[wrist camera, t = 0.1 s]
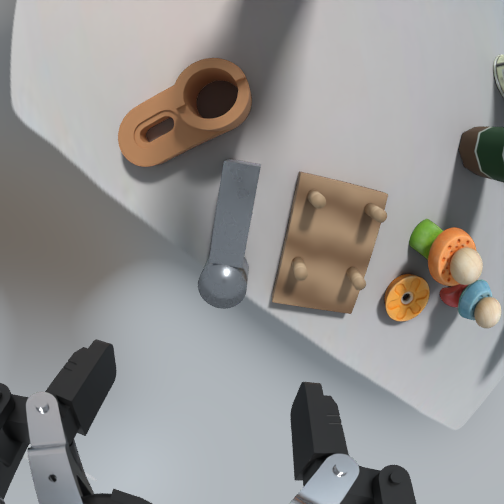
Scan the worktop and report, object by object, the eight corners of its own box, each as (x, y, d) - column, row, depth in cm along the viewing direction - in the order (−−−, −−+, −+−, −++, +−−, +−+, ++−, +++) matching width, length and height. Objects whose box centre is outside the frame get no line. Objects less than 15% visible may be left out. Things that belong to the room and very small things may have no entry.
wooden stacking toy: (365, 300, 43) (394, 349, 31) (426, 206, 38) (476, 230, 26) (433, 336, 45) (463, 379, 34) (485, 260, 40) (528, 290, 28)
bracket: (236, 63, 32) (230, 46, 26) (262, 117, 35) (261, 110, 28) (118, 124, 35) (93, 122, 29) (141, 175, 38) (118, 181, 31)
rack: (299, 171, 37) (305, 175, 31) (382, 192, 37) (400, 200, 32) (271, 295, 43) (273, 317, 37) (348, 307, 43) (358, 328, 38)
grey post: (222, 157, 37) (215, 159, 31) (268, 165, 37) (269, 168, 31) (204, 283, 43) (195, 303, 37) (244, 290, 43) (242, 312, 37)
